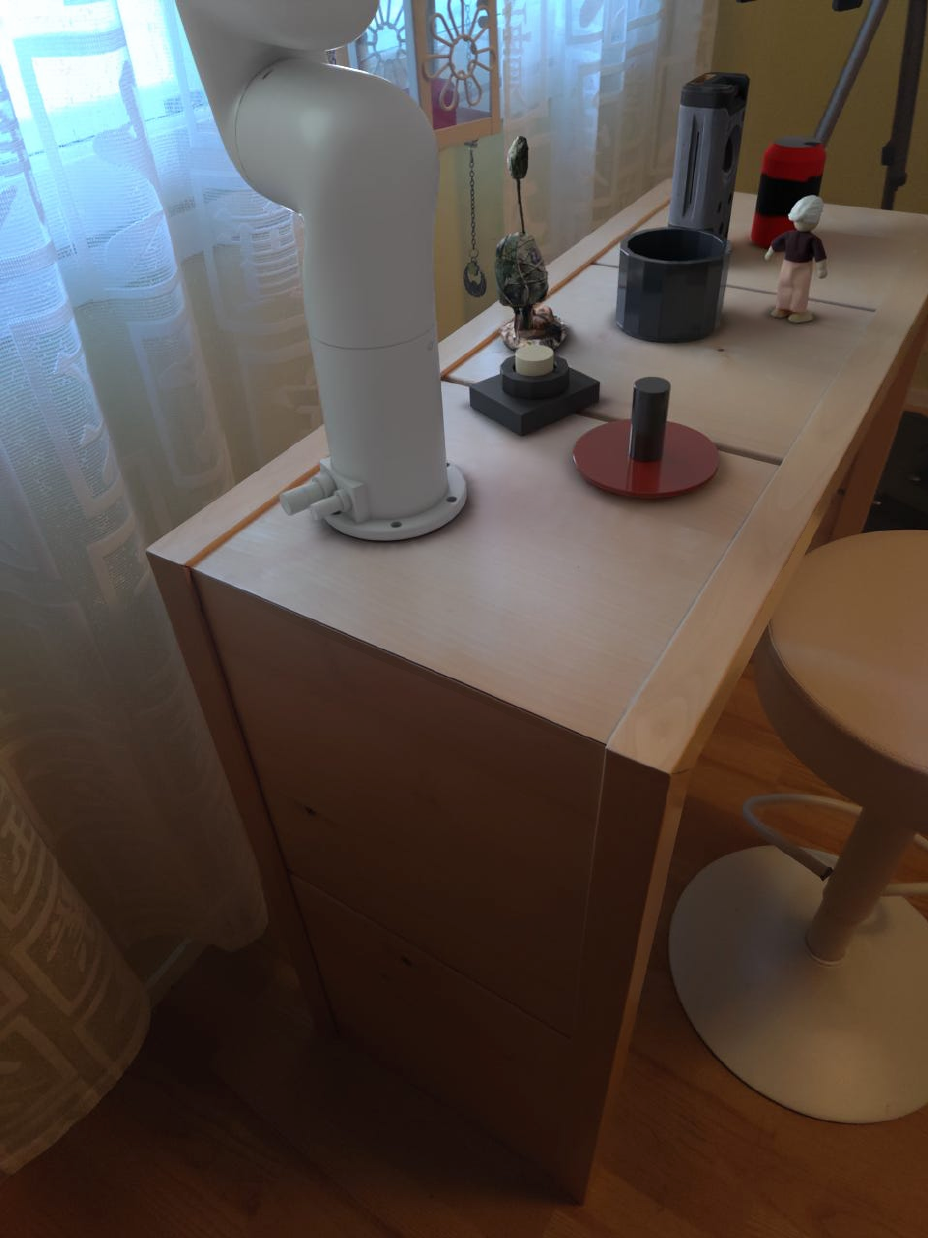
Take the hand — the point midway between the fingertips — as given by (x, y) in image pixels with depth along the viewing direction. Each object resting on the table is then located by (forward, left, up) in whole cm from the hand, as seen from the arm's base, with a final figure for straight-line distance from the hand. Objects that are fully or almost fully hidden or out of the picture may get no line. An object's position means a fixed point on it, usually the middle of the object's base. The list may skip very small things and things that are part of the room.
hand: (796, 4), depth 74 cm
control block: (-24, +5, -31) cm, 39 cm away
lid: (-24, -10, -30) cm, 39 cm away
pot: (0, +10, -31) cm, 32 cm away
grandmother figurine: (+11, +2, -31) cm, 33 cm away
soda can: (+30, +18, -31) cm, 47 cm away
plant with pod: (-15, +17, -31) cm, 38 cm away
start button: (-24, +5, -27) cm, 36 cm away
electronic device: (+18, +22, -31) cm, 42 cm away
